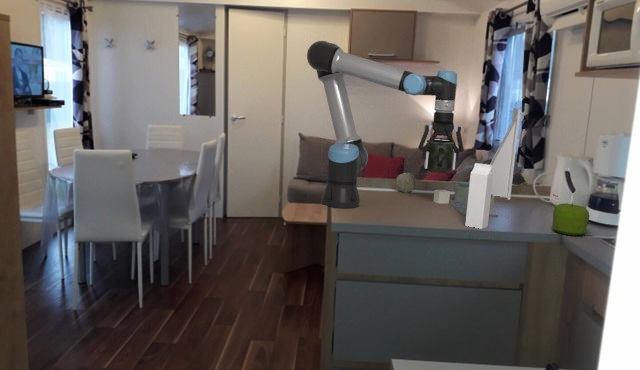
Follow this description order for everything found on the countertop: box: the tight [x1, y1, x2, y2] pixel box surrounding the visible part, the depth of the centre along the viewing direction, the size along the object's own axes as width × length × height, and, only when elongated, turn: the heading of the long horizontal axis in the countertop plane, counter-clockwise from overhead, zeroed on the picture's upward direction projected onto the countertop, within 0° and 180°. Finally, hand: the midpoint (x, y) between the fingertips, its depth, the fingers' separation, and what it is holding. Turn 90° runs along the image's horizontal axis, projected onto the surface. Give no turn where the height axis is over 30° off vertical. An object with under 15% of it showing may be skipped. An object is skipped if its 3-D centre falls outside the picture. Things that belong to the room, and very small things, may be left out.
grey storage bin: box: [448, 181, 499, 218], centre depth 211 cm, size 13×24×9 cm, turn 0°
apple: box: [551, 203, 590, 236], centre depth 181 cm, size 11×11×11 cm
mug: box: [425, 139, 454, 174], centre depth 207 cm, size 11×15×12 cm
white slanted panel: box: [489, 108, 522, 201], centre depth 244 cm, size 20×14×40 cm
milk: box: [465, 162, 493, 230], centre depth 183 cm, size 6×6×22 cm
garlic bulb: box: [393, 172, 416, 194], centre depth 241 cm, size 9×8×10 cm
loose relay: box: [433, 189, 451, 204], centre depth 223 cm, size 5×4×5 cm
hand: (439, 168), depth 208 cm, fingers closed on mug, 10 cm apart
